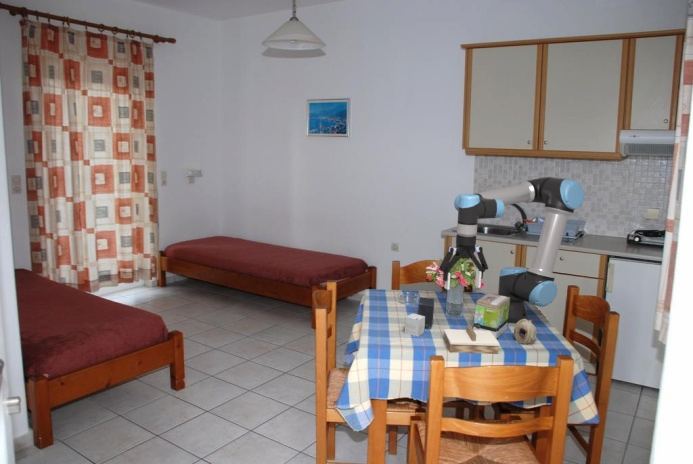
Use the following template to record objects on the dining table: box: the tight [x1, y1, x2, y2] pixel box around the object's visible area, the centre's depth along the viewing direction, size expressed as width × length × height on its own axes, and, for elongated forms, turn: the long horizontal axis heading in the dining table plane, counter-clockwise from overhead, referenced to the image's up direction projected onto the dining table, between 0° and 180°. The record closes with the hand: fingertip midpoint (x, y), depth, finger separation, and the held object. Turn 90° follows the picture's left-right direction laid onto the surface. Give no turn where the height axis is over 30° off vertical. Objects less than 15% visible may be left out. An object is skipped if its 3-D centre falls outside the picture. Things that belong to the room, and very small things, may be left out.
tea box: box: [472, 292, 510, 340], centre depth 229 cm, size 15×10×15 cm
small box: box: [417, 296, 435, 330], centre depth 236 cm, size 11×6×10 cm, turn 168°
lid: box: [443, 325, 501, 347], centre depth 213 cm, size 18×14×3 cm
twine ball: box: [513, 318, 537, 345], centre depth 220 cm, size 9×8×10 cm
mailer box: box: [443, 332, 500, 355], centre depth 214 cm, size 18×13×3 cm
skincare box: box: [404, 312, 425, 338], centre depth 225 cm, size 6×6×7 cm
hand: (462, 287), depth 217 cm, fingers open, 13 cm apart
